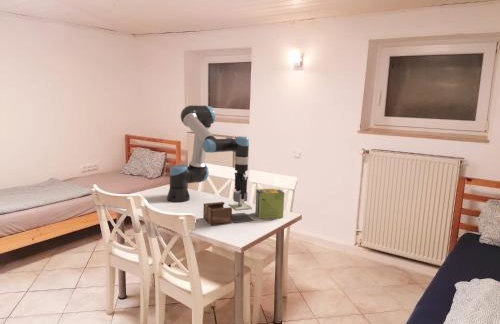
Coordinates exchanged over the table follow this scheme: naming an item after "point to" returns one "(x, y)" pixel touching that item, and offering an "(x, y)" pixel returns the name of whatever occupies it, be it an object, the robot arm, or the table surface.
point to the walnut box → (217, 213)
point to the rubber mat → (241, 218)
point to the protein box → (269, 203)
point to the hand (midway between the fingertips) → (240, 202)
